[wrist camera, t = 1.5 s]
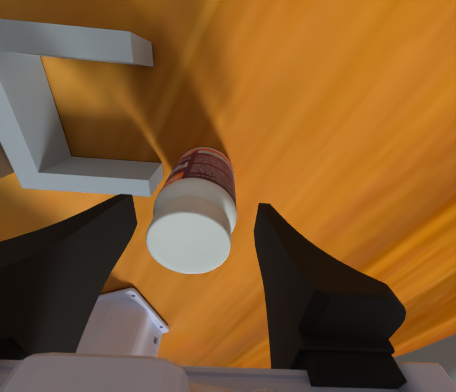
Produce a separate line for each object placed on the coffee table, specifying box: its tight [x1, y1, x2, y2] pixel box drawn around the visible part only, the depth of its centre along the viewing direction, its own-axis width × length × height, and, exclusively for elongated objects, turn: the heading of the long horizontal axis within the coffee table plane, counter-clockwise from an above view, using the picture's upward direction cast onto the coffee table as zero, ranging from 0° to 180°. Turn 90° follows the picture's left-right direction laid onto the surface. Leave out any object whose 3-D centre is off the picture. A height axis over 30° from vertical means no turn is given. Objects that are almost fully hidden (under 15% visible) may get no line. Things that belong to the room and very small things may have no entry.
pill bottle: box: [146, 147, 237, 274], centre depth 13 cm, size 5×5×8 cm
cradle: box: [0, 19, 163, 197], centre depth 13 cm, size 8×9×3 cm
